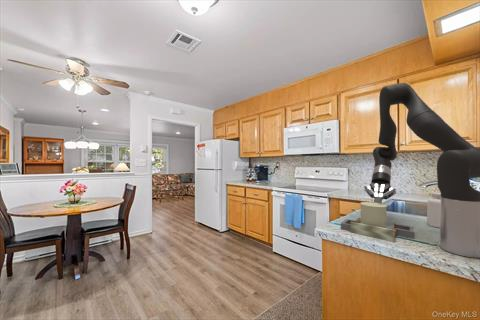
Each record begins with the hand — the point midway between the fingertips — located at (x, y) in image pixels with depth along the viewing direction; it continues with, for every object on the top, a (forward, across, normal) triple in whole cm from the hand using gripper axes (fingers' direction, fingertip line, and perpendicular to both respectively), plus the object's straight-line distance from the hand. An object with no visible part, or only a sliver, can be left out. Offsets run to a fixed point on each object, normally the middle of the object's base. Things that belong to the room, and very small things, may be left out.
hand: (377, 205), depth 91 cm
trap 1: (+14, -9, -1) cm, 17 cm away
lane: (+12, 0, +1) cm, 12 cm away
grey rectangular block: (+14, 0, 0) cm, 14 cm away
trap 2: (+9, +9, +4) cm, 14 cm away
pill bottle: (-7, +21, +21) cm, 31 cm away
